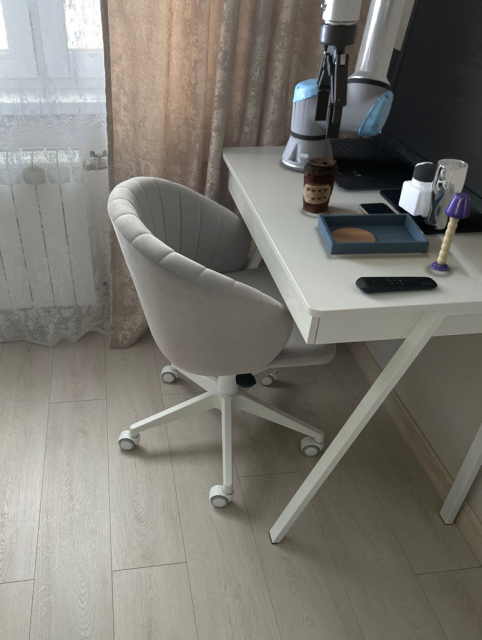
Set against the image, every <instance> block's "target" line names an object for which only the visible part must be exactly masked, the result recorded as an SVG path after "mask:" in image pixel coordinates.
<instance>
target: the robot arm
mask: <svg viewBox="0 0 482 640" xmlns="http://www.w3.org/2000/svg"><path fill="white" fill-rule="evenodd" d="M323 1H324V2H323V3H321V4H320V9H322V17H321V19H322V20H323V21H324V22H322V23H321V25H320V34H319V43H320V44H322V45H323V49H322V50H323V51H322V55H321V60H320V65H319V69H318V74H317V77H316V78H310V79H306V80H305V79H304V80H303V81H300V82H298V83H297V84H296V85H295V88H294V94H293V99H292V112H291V121H290V122H291V123H290V133H289V134H290V135H289V139H288V141H287V143H286V146H285V149H284V150H283V153H282V157H281V165H282V166H283V167H284V168H286V169H289V170H290V171H294V172H298V173H304V166H305V164H306V163H307V162H308V160H309V159H313V158H318V157H327V158H332V159H334V154H333V149H332V144H331V139H339V136H340V133H342V134H348V135H356V136H359V137H375V136H377V135H378V134H380V133H381V131H382V129H383V128H384V126H385V123H386V122H387V120H388V117H389V115H390V111H391V109H392V103H393V100H394V93H393V91H391V90H390V87H391V83H390V82H389V79H388V78H387V76H388V72H389V67H390V63H391V60H392V55H393V51H394V47H395V43H396V39H397V36H398V32H399V27H400V23H401V20H402V17H403V11H404V7H405V3H406V0H370V4H369V8H368V14H367V17H366V21H365V26H364V30H363V33H362V38H361V43H360V47H359V51H358V55H357V60H356V64H355V70H354V72H353V73H351V75H350V76H348V75H349V63H350V53H346V47H348V46H353V45H355V43H356V40H357V33H358V28H359V26H358V24H357V23H356V22H358V21H359V20H360V16H361V8H362V0H323Z"/></svg>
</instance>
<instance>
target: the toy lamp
mask: <svg viewBox="0 0 482 640" xmlns="http://www.w3.org/2000/svg"><path fill="white" fill-rule="evenodd" d="M470 211H471V195H470V194H468V193H466V192H461V193H455V194H454V196H453V197H452V199H451V201H450V202H449V204H448V206H447V207H446V209H445V214H446V215H447V216H449V217H450V222H449V223H448V229H447V230H445V233H444V234H445V235H444V236H443V240H442V244H441V246H440V251H439V253H438V254H439V256H438V257H437V260H436V261H433V262H432V263H430V265H429V266H430V268H431V270H434V271H436V272H441V273H442V272H447V271H449V270H450V267H449V265H448V264H447V263H446V262H447V260H448V258H447V257H448V256H449V253H450V249H451V247H452V243H453V241H454V236H455V234H456V229H457V228H458V222H459V221H460V220H461V219H463V220H464V219H467V218H469V216H470Z"/></svg>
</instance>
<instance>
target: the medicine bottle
mask: <svg viewBox="0 0 482 640" xmlns="http://www.w3.org/2000/svg"><path fill="white" fill-rule="evenodd" d="M437 164H438V163H434V162H430V161H424V162H419V163H417V164H416V165H415V167H414V171H413V175H412V177H411V178H412V179H411V180H405V181H404V182H403V183H402V187H401V193H400V198H399V202H398V206H399V207H400V208H401V209H403V210H405V211H406V213H409V215H412V216H413V217H417V216H421V217H422V218H425V217H426V215H427V213H428V209H429V202H430V190H431V184H432V179H433V176H434V173H435V170H436V167H437Z"/></svg>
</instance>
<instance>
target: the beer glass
mask: <svg viewBox="0 0 482 640" xmlns="http://www.w3.org/2000/svg"><path fill="white" fill-rule="evenodd" d="M436 164H437V167H436V170H435V173H434V176H433V179H432V184H431V190H430V202H429V209H428V213H427V215H426V217H424V219H423V221H424V222H425V224H426V225H428V226H429V227H430V228H431V229H432V230H433V231H438V232H442V231H446V230H447V229H448V223H449V222H450V217H449V216H447V215H446V214H445V209H446V207H447V206H448V204H449V202H450V201H451V199H452V197H453V196H454V194H455V193H462V190H463V188H464V185H465V182H466V178H467V172H468V168H469V164H468V163H467V162H465V161H463V160H461V159H457V158H456V159H454V158H444V159H440V160H438V161H437V163H436Z"/></svg>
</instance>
